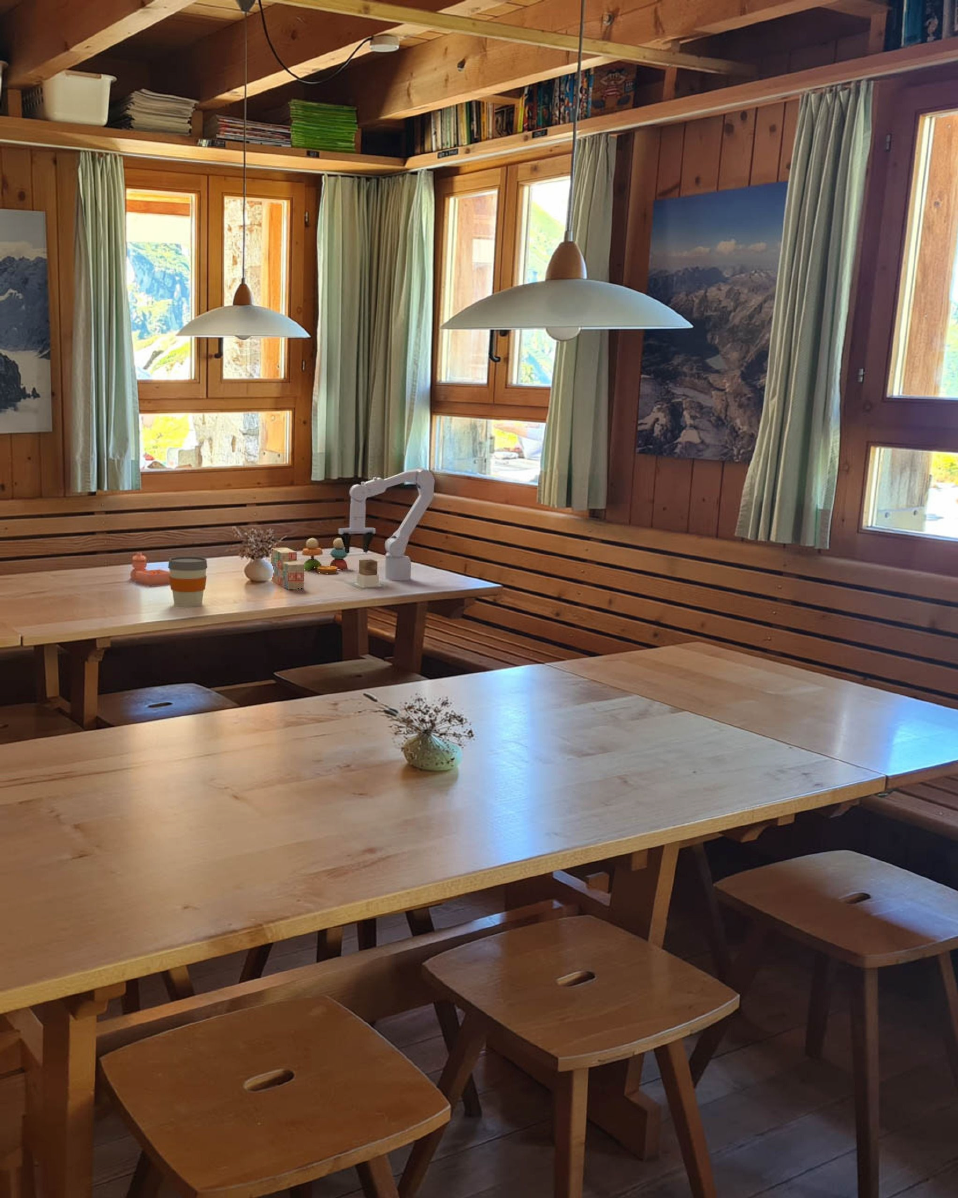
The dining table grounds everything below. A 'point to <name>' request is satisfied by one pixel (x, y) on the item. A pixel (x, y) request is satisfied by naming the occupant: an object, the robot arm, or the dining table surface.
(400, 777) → the dining table surface
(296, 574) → the stack of blocks
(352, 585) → the clear glass plate
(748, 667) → the dining table surface
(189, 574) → the reusable coffee cup
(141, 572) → the pottery
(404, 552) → the robot arm
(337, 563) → the wooden stacking toy
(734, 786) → the dining table surface
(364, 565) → the walnut block
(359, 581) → the base block
